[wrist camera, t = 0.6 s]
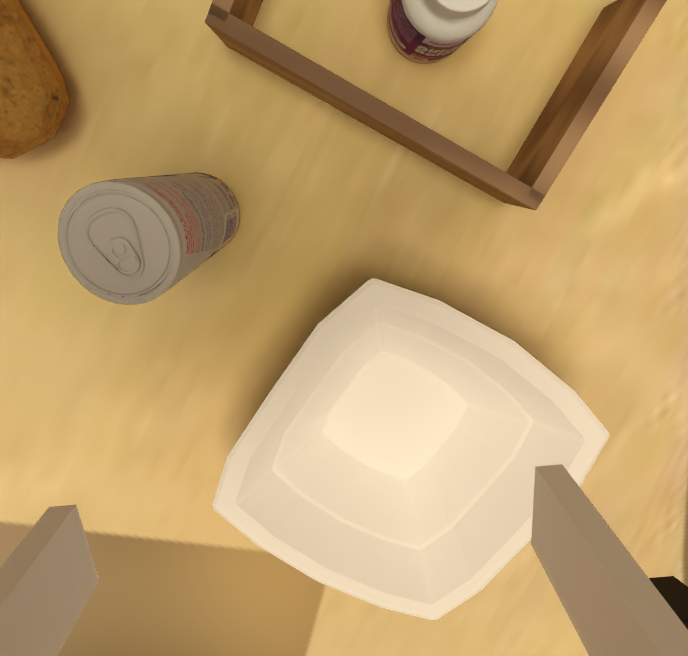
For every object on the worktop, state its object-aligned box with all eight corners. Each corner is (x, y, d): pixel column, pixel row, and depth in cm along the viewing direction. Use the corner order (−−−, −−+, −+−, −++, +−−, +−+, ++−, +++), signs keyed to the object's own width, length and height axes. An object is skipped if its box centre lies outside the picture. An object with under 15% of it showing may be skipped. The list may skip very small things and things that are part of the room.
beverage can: (184, 156, 35) (81, 153, 20) (254, 199, 36) (203, 224, 22) (150, 225, 36) (33, 266, 22) (219, 264, 37) (149, 328, 23)
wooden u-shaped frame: (504, 202, 36) (536, 210, 31) (227, 46, 33) (204, 21, 27) (615, 15, 32) (675, -15, 27) (317, -185, 29) (313, -270, 23)
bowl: (580, 375, 41) (640, 426, 33) (417, 559, 47) (434, 641, 39) (362, 226, 37) (370, 244, 29) (212, 450, 42) (184, 517, 34)
